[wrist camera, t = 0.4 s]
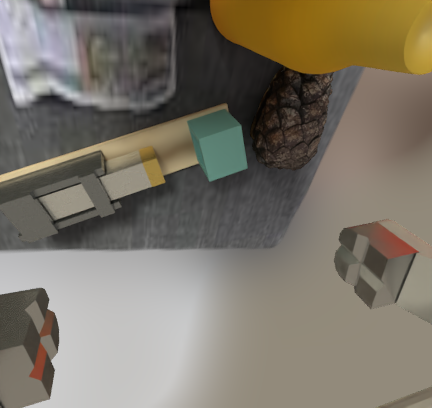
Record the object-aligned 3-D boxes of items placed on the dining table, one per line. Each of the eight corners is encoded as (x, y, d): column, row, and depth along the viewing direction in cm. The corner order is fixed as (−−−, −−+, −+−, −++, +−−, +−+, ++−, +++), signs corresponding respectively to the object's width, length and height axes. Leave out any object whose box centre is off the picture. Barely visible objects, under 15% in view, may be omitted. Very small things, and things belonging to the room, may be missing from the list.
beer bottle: (207, 43, 41) (344, 123, 19) (207, -47, 35) (402, -85, 13) (270, 41, 43) (457, 110, 21) (279, -43, 38) (546, -70, 16)
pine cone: (325, 49, 47) (371, 63, 39) (287, 155, 56) (318, 184, 48) (266, 36, 43) (304, 49, 35) (235, 152, 52) (260, 183, 44)
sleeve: (0, 182, 42) (-12, 208, 37) (100, 149, 44) (101, 170, 39) (28, 218, 46) (21, 245, 42) (119, 187, 48) (122, 210, 43)
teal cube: (185, 119, 46) (198, 139, 40) (222, 106, 47) (241, 125, 41) (196, 158, 50) (209, 181, 45) (230, 147, 51) (247, 168, 45)
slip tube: (12, 191, 42) (5, 208, 39) (152, 145, 45) (156, 158, 41) (29, 213, 45) (24, 231, 42) (160, 168, 47) (165, 182, 44)
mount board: (-5, 176, 42) (-7, 179, 42) (225, 102, 46) (227, 104, 46) (28, 218, 47) (27, 222, 47) (233, 148, 51) (235, 150, 51)
